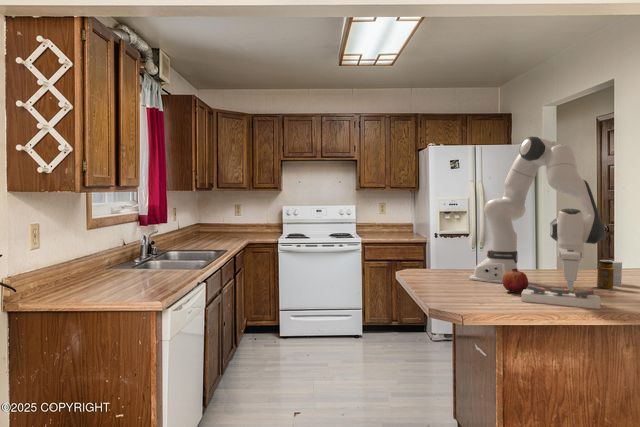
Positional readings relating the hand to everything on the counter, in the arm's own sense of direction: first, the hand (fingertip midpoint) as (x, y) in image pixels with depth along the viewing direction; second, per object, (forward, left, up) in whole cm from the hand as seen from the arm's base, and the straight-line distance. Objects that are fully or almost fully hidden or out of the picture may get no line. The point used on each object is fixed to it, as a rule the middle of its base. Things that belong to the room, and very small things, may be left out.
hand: (570, 289), depth 177 cm
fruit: (-21, +13, -6) cm, 25 cm away
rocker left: (-12, 0, -1) cm, 12 cm away
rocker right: (+4, 0, -1) cm, 5 cm away
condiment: (+12, +41, -6) cm, 43 cm away
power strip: (-4, +1, -5) cm, 6 cm away
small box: (+15, +55, -6) cm, 58 cm away
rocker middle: (-4, 0, -1) cm, 4 cm away
